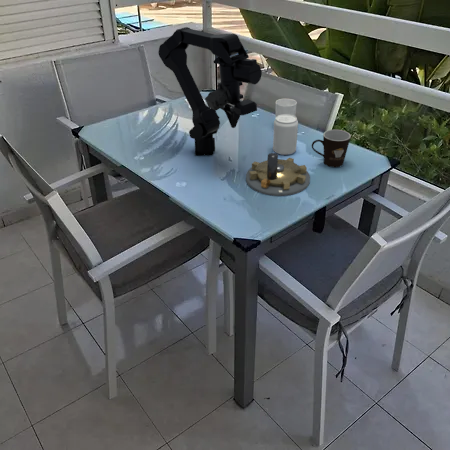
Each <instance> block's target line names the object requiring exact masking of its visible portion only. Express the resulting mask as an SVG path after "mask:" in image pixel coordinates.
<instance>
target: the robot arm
mask: <svg viewBox="0 0 450 450" xmlns="http://www.w3.org/2000/svg"><path fill="white" fill-rule="evenodd" d="M190 45H191V46H195V47H198V48H201V49H205V50H208V51H210V53H212V55H214V56H216V58H215V59H214V60H213V62H212V63H213V64H217V65H219V77H220V82H218V83H217V85H216V86H217V87H216V88H217V89H216V90H212V91H210V92H208V95H207V96H205V97H204V98H203V96H202V93H201V91H200V90H199V87H198V86H197V84H196V81H195V79H194V77H193V75H192V73H191V71H190V68H189V67H188V54H187V52H186V50H187V49H188V48H189V46H190ZM157 53H158V56H159V59H160V60H161V61H162V63H163V65H164V66H165V67H166V68H168V69H169V70H170V71H171V72H173V75H174V76H175V79H176V80H177V83H178V84H179V87H180V88H181V91H182V92H183V95H184V97H185V99H186V101H187V103H188V105H189V107H190V110H191V111H192V117H191V118H192V120H191V121H192V123H193V127H192V128H191V129H190V130H189V131H188V134H189V137H190V138H191V139H193V140H194V156H195V157H196V156H202V157H203V156H214V153H215V152H216V137H214V135H215V134H217V132H218V130H219V129H220V125H221V121H220V118H221V117H220V116H219V115H218V113H217V111H219V110H222V111H224V113H225V114H226V117H227V120H228V122H229V125H230V127H231V128H232V129H234V128H236V127H237V125H238V122H239V120H240V117H241V116H246V115H248V114H251V113H254V112H257V111H258V103H257V102H255V101H253V100H251V99H248V98H247V99H244V94H241V86H243V83H244V84H250V85H257V84H258V83H259V82H260V81H261V78H262V75H263V74H262V73H263V71H262V69H261V65H260V64H258V60H257V59H255V58H252V59H251V58H250V59H249V54H248V52H247V51H246V49H245V47H244V45H243V44H242V42H241V40H240V38H239V36H238V35H237V34H236V33H222V34H214V33H210V32H206V31H201V30H198V29H192V28H190V27H187V26H186V27H181V28H177V29H176V30H175V31H173V33H172V34H171V36H169V37H168V38H167V39H166V40H165V41H164V42H163V43H161V44H160V45H159V47H158V52H157ZM242 99H244V100H242Z"/></svg>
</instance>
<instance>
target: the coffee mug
mask: <svg viewBox="0 0 450 450" xmlns="http://www.w3.org/2000/svg"><path fill="white" fill-rule="evenodd" d="M351 136H352V135H351V134H350V132H347V131H345V130H341V129H328V130H326V131H324V132H323V136H322V137H323V139H315V140H314V141H312V143H311V149H312V150H313V151H314V152H315V153H317V154H318V155H319V156H321V157H323V164H324V165H325V166H326V167H328V168H329V167H330V168H341V167H342V166H343V165H344V162H345V159H346V155H347V152H348V149H349V148H348V147H349V144H350V141H351ZM317 142H320V143H322V146H323V153H321V152H319V151H318V150H316V149H315V148H314V145H315V143H317ZM340 166H341V167H340Z"/></svg>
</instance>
